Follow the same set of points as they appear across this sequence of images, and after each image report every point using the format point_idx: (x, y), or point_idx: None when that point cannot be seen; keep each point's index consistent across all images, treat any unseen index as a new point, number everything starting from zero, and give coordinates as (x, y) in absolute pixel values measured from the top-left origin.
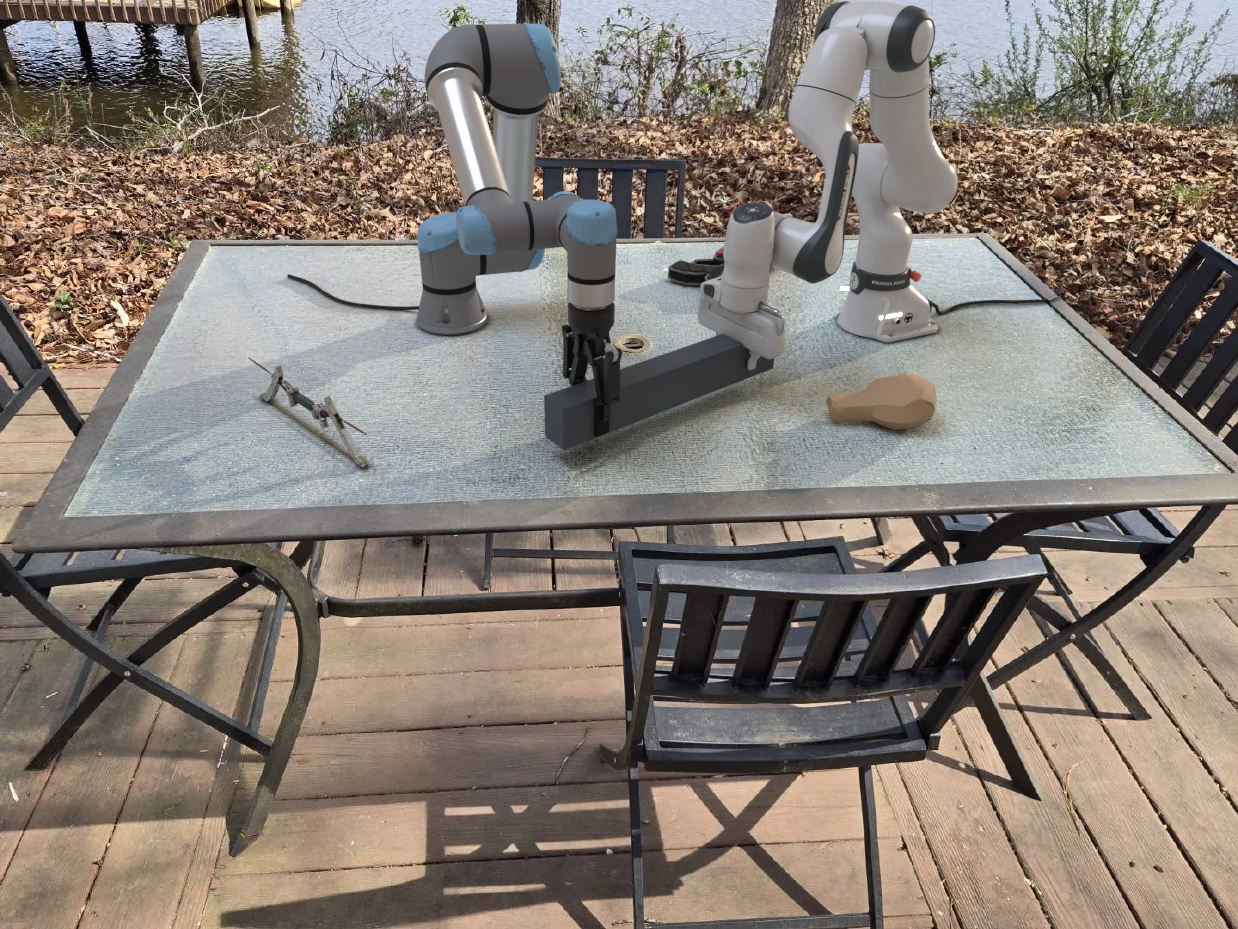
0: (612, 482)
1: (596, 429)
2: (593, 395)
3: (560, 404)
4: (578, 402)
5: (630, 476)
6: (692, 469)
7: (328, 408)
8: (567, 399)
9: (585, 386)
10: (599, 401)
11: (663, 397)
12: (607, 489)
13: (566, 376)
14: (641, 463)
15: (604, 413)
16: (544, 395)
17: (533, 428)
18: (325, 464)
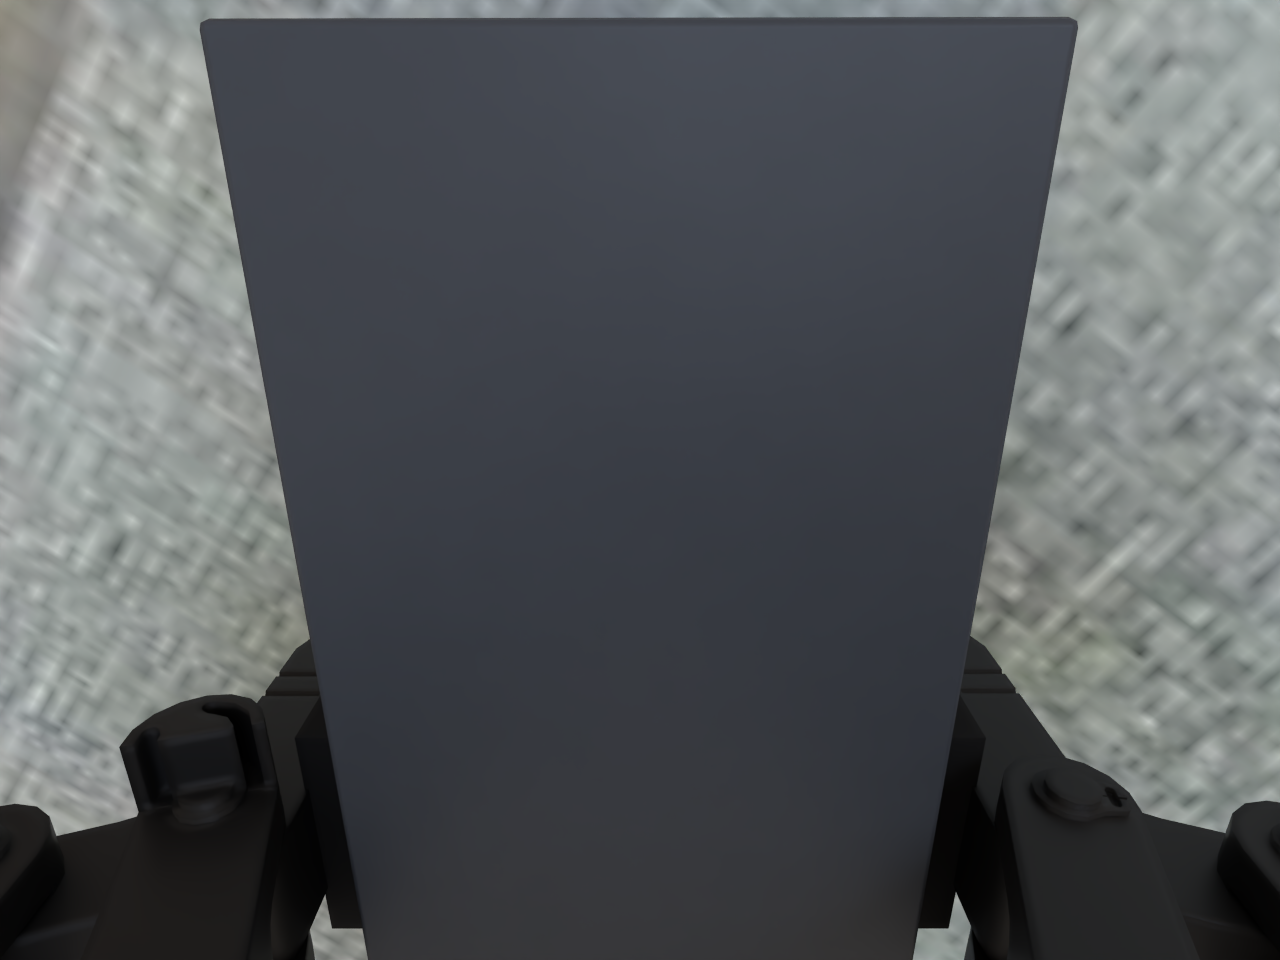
0: (167, 335)
1: None
2: (427, 833)
3: (445, 106)
4: (326, 498)
5: (183, 482)
6: (95, 803)
7: None
8: (556, 386)
9: (770, 893)
10: (189, 799)
11: None
12: (96, 247)
13: (1253, 850)
14: (291, 626)
15: (258, 704)
16: (1076, 34)
17: (1165, 286)
18: None
